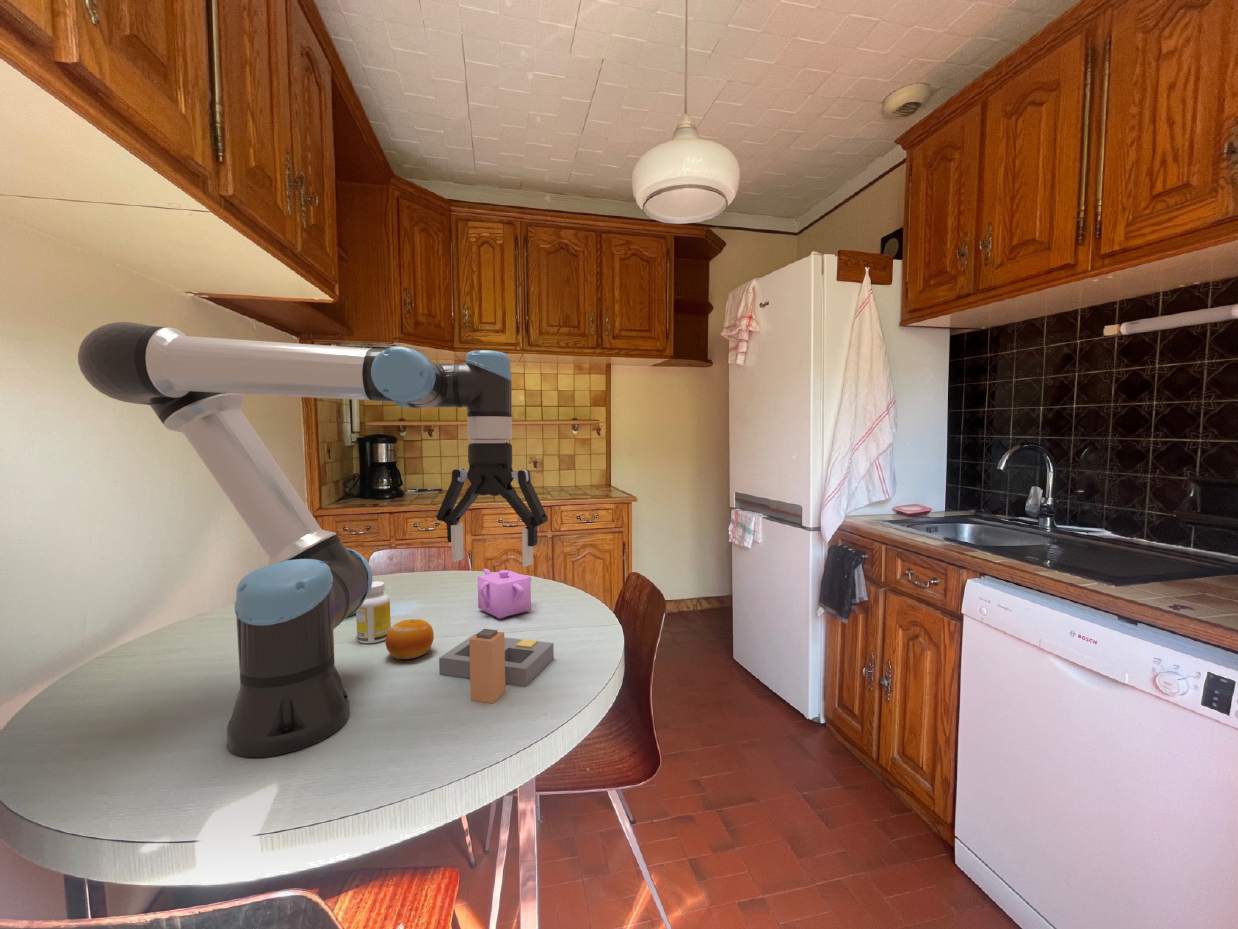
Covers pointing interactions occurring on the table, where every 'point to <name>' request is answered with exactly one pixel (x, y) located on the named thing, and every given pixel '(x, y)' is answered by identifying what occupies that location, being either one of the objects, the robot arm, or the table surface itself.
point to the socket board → (519, 660)
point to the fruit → (409, 638)
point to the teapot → (504, 593)
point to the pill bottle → (374, 615)
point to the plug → (487, 665)
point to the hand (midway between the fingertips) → (492, 562)
